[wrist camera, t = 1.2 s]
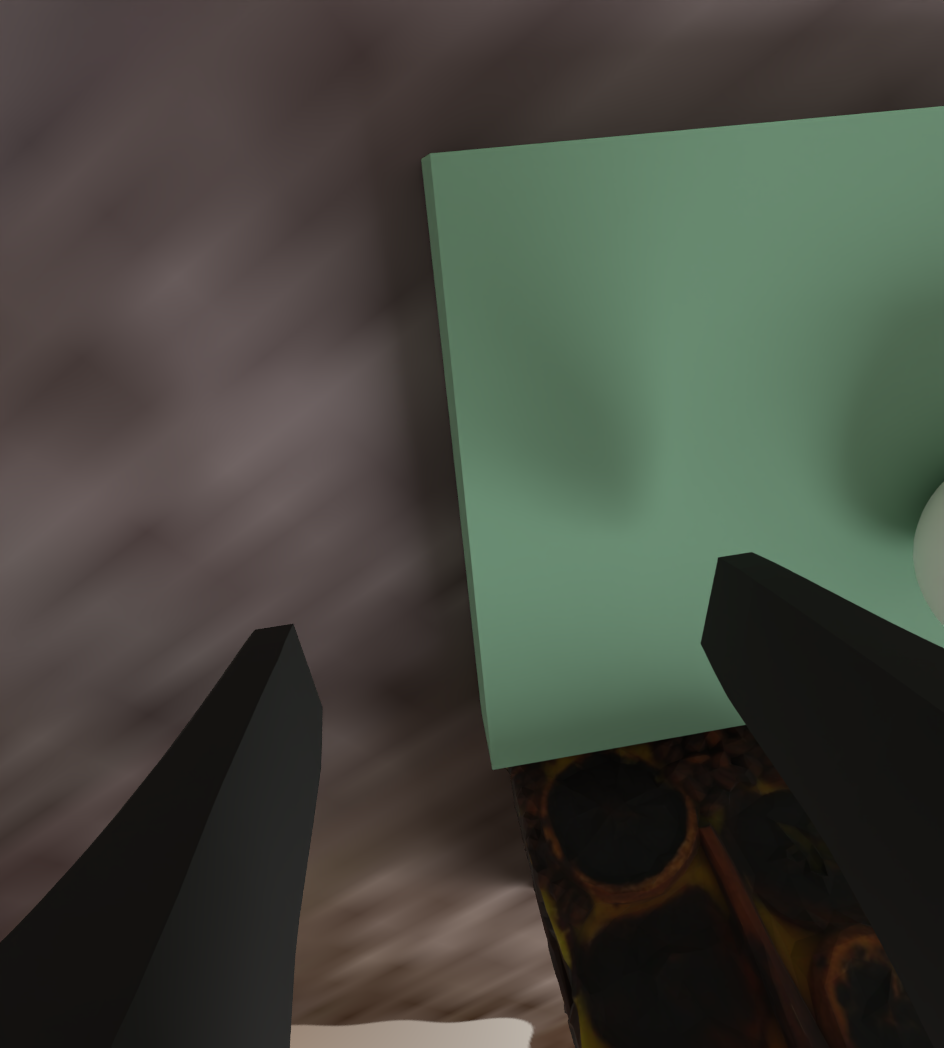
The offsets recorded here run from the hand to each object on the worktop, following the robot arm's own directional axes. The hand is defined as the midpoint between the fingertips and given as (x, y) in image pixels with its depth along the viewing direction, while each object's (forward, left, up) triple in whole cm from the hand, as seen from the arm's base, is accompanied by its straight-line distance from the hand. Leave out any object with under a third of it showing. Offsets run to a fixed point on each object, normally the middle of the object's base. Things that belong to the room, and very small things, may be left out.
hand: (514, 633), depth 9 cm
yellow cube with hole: (-6, +14, -5) cm, 16 cm away
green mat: (-12, 0, -4) cm, 12 cm away
